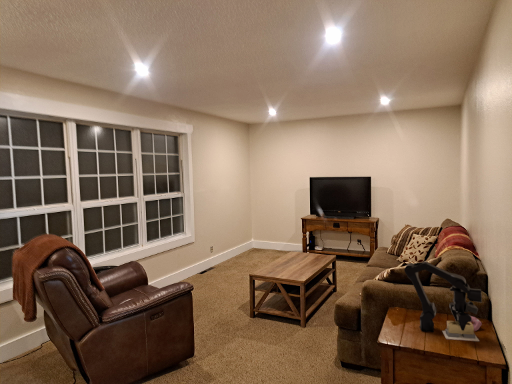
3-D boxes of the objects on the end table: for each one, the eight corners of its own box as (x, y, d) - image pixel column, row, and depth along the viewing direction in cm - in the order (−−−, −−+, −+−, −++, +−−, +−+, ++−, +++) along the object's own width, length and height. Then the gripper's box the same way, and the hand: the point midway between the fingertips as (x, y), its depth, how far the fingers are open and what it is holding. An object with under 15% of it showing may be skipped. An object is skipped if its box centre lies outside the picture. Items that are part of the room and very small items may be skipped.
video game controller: (480, 333, 197) (484, 321, 198) (474, 331, 196) (478, 319, 196) (465, 325, 207) (469, 314, 207) (459, 323, 205) (463, 312, 206)
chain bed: (446, 338, 190) (446, 327, 190) (442, 331, 199) (441, 320, 198) (479, 341, 186) (479, 329, 185) (473, 333, 195) (473, 322, 194)
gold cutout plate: (470, 330, 193) (470, 322, 192) (473, 334, 188) (473, 325, 188) (447, 329, 196) (446, 320, 195) (449, 333, 192) (449, 324, 191)
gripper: (482, 306, 180) (482, 335, 181) (470, 293, 198) (470, 319, 199) (458, 305, 183) (459, 334, 184) (448, 292, 200) (449, 318, 202)
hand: (460, 326), depth 192 cm, fingers open, 9 cm apart
